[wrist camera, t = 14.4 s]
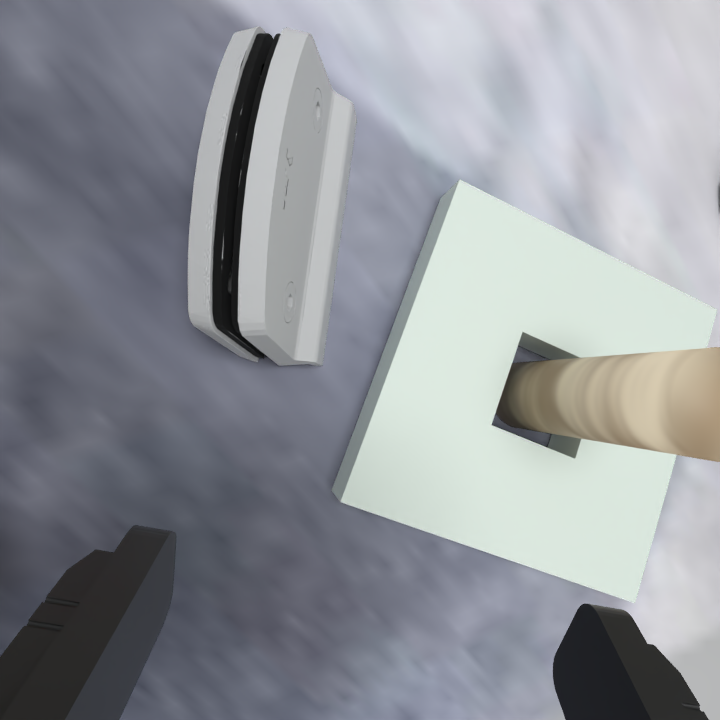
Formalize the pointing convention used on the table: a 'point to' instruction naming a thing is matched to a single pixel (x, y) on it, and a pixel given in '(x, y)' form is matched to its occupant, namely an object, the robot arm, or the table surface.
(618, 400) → the birch pin
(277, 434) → the table surface
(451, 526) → the collar block
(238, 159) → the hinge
